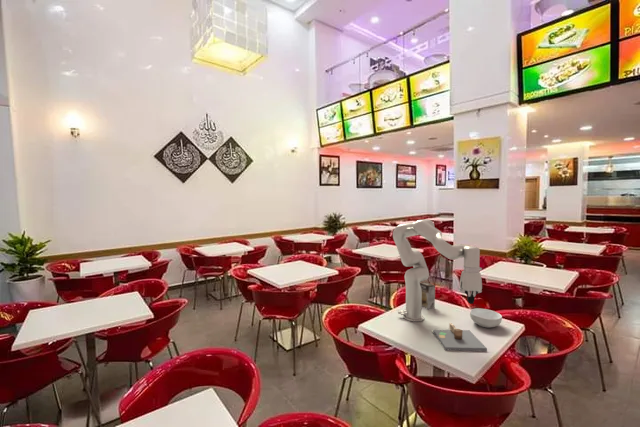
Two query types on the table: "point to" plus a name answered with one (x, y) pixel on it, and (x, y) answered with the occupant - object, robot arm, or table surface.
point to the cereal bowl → (485, 317)
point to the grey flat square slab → (459, 341)
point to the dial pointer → (456, 331)
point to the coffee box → (428, 295)
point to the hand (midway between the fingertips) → (470, 303)
